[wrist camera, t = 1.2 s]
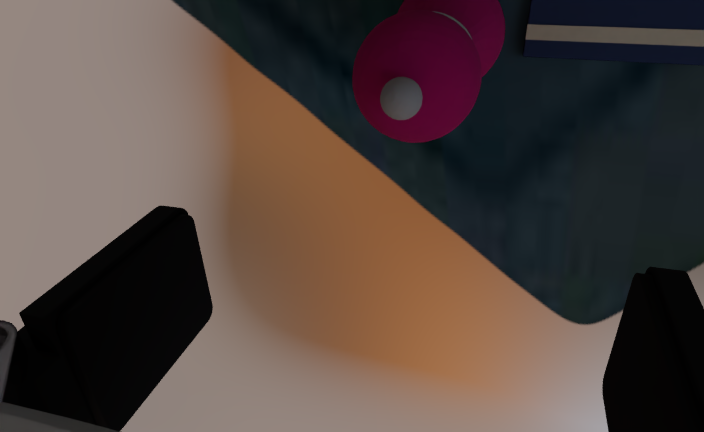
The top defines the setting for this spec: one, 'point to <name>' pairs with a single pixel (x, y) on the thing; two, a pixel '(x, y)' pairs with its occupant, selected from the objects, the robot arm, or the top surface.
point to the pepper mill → (427, 66)
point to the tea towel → (617, 30)
